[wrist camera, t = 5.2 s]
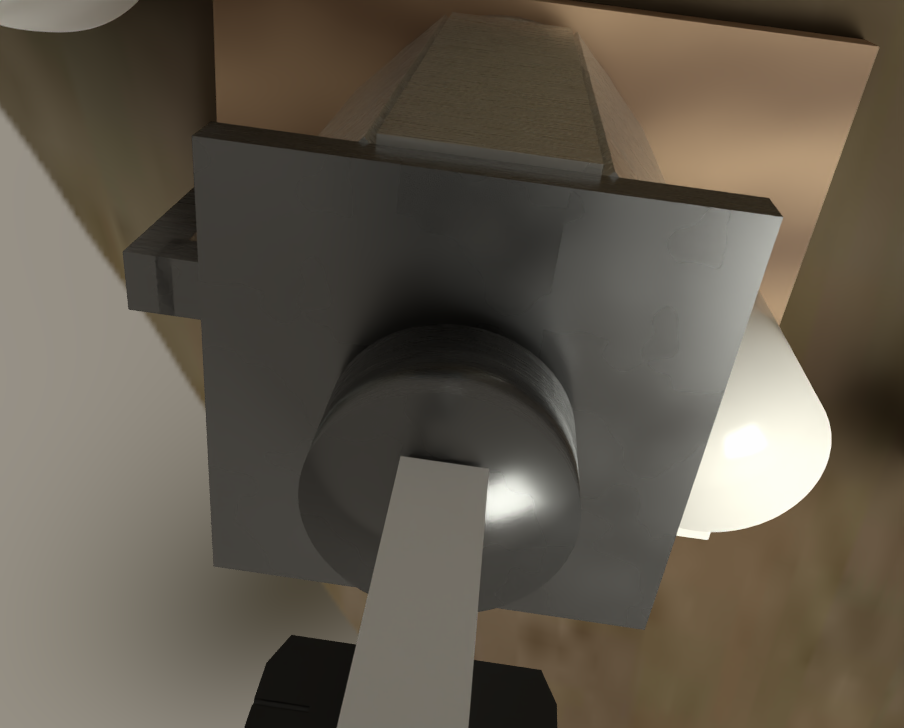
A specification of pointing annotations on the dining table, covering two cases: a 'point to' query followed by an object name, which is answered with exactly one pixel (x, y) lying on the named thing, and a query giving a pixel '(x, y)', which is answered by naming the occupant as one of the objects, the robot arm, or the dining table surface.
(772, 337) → the mug
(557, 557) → the plunger
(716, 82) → the board
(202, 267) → the carafe
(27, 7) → the figurine
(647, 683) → the dining table surface
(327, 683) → the robot arm
